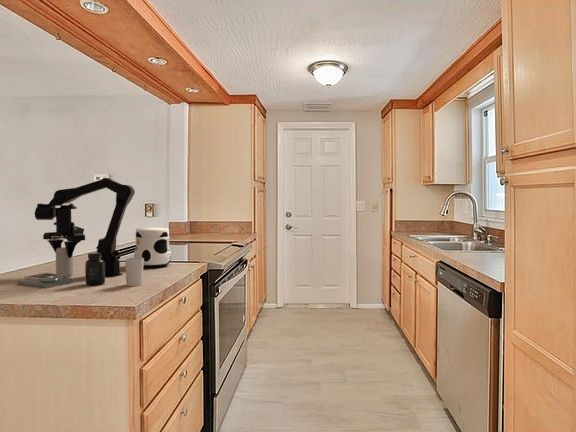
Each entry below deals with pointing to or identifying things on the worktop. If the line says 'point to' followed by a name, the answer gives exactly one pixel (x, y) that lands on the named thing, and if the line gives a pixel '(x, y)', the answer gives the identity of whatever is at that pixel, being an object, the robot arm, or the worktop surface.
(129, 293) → the worktop surface
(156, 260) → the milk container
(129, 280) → the drinking glass
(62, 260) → the beverage can
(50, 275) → the grey flat piece
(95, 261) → the supplement bottle
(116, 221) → the robot arm
